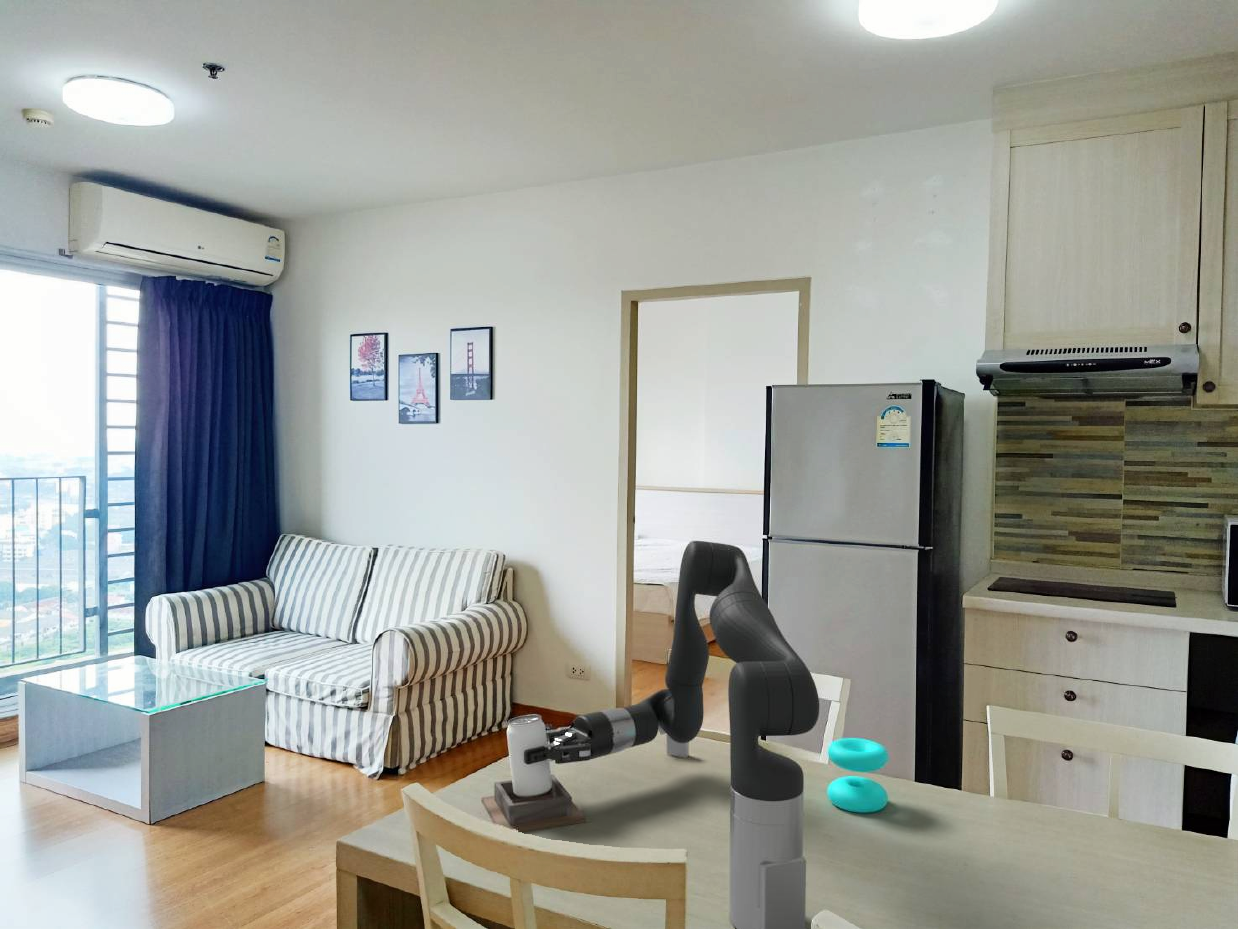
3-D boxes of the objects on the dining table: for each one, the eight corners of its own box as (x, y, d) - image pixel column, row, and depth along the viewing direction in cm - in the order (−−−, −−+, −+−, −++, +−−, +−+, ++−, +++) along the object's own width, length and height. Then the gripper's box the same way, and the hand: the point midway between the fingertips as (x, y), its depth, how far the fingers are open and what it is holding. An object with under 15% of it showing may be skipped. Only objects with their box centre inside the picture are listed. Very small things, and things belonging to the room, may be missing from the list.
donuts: (816, 739, 152) (863, 733, 156) (815, 796, 152) (862, 788, 156) (851, 758, 143) (901, 751, 146) (850, 819, 143) (900, 810, 147)
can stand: (585, 821, 141) (585, 799, 141) (500, 835, 136) (500, 812, 136) (560, 790, 154) (560, 769, 154) (481, 801, 149) (481, 780, 149)
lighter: (688, 755, 172) (689, 714, 172) (685, 758, 171) (686, 717, 171) (655, 749, 175) (655, 710, 175) (652, 752, 174) (652, 712, 174)
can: (546, 797, 142) (537, 722, 142) (508, 799, 143) (499, 725, 144) (557, 783, 148) (548, 712, 149) (520, 785, 149) (512, 715, 150)
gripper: (580, 702, 159) (497, 720, 149) (627, 722, 148) (540, 743, 138) (581, 742, 159) (497, 763, 149) (627, 766, 148) (540, 790, 138)
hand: (518, 753), depth 144 cm, fingers closed on can, 4 cm apart
